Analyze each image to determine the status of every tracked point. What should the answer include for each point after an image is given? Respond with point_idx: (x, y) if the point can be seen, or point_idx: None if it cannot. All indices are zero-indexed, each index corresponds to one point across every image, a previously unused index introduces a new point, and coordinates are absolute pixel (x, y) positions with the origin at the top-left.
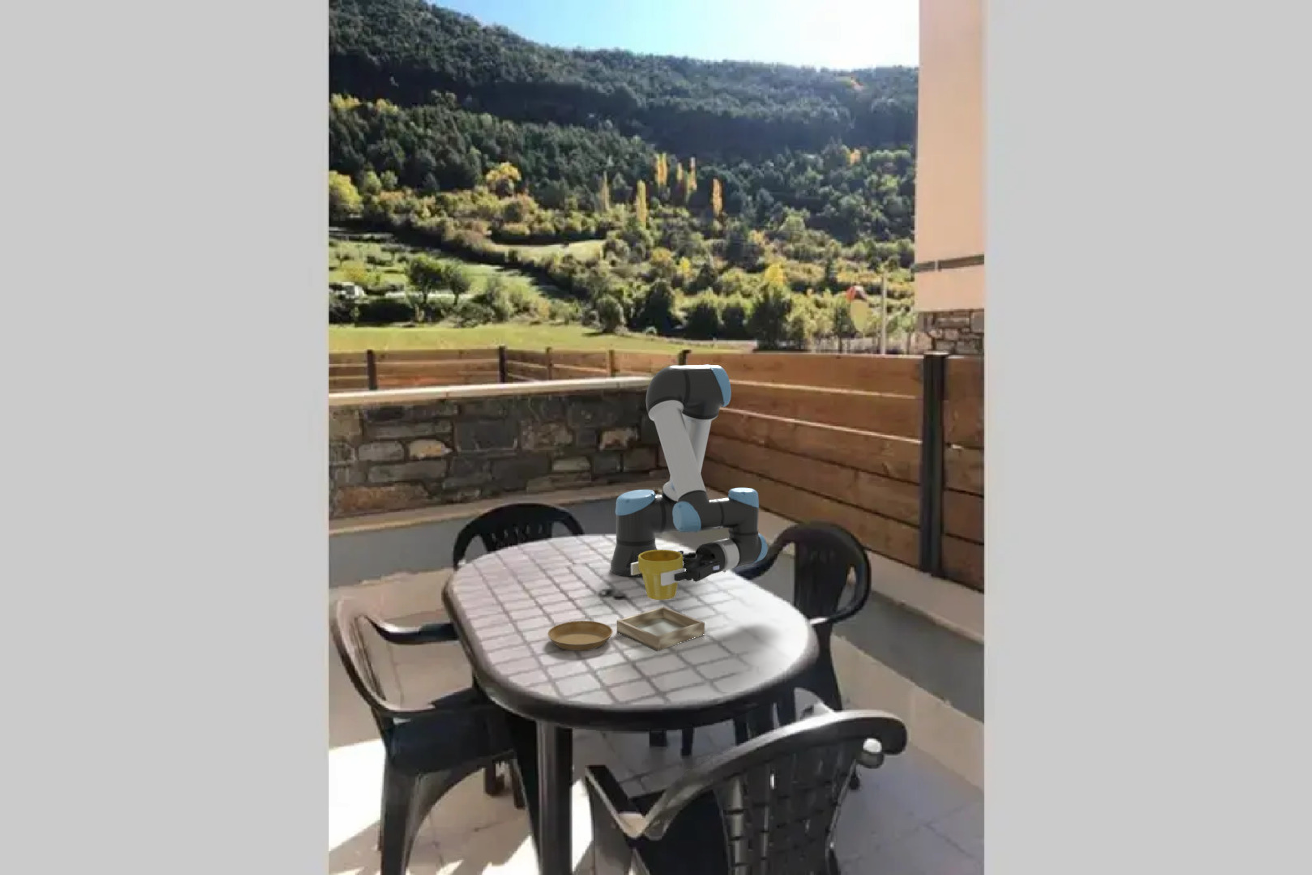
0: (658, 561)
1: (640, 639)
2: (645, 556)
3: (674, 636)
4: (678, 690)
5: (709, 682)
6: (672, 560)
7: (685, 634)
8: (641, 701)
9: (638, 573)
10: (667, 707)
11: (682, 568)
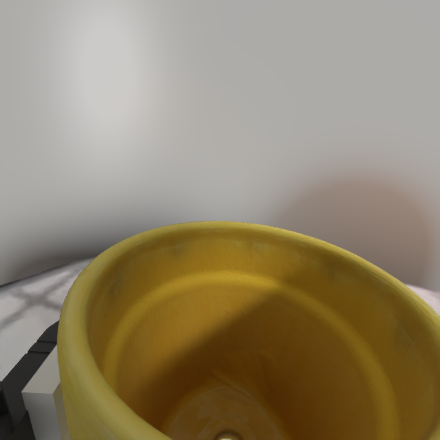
0: (393, 431)
1: None
2: (372, 299)
3: None
4: (4, 319)
5: None
6: (101, 254)
7: None
8: (58, 278)
9: None
10: (12, 284)
11: (46, 381)
